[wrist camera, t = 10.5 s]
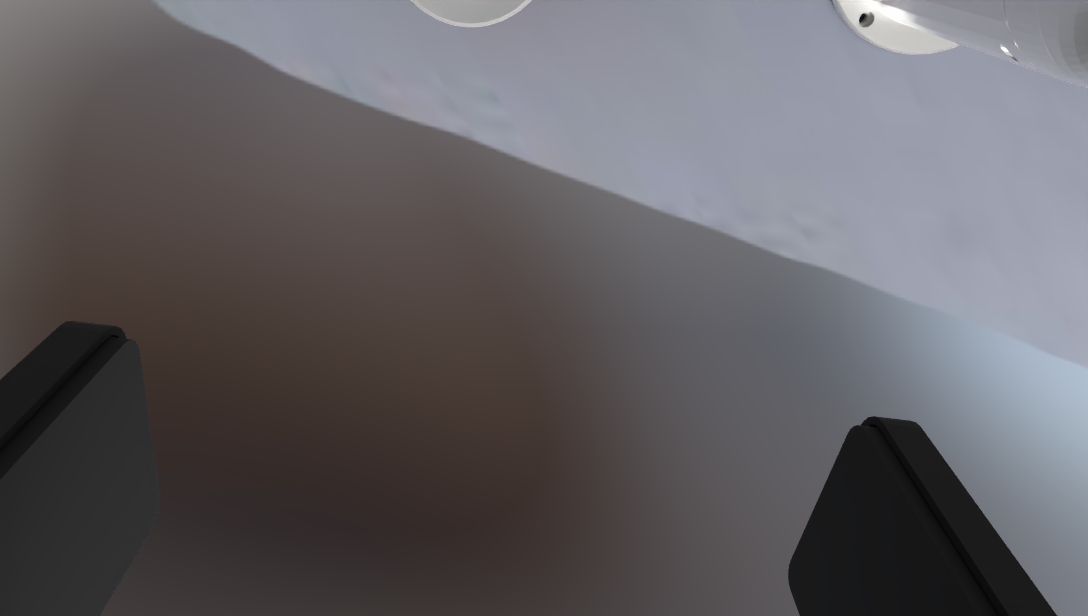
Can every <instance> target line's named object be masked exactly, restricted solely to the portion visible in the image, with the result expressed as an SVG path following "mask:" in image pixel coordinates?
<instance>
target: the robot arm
mask: <svg viewBox="0 0 1088 616" xmlns="http://www.w3.org/2000/svg"><path fill="white" fill-rule="evenodd" d="M832 2H833V4H834V7H835V9H836V11H837V12H838V13H839V15H840V16H841V18H842V19H843V21H844V22H845V23H846V25H847V26H848V27H849V28H851V29H852V30H853V31H854V32H855V33H856V34H857V35H858V36H860V37H861V38H863V39H864V40H866V41H868V42H870V43H872V44H873V45H875V46H878V47H880V48H883V49H886V50H889V51H891V52H897V53H903V54H909V55H916V54H932V53H937V52H941V51H945V50H949V49H953V48H955V47H958V46H960V45H963V46H966V47H969V48H972V49H975V50H977V51H980V52H983V53H986V54H989V55H991V56H994V57H997V58H1000V59H1003V60H1006V61H1008V62H1011V63H1014V64H1017V65H1020V66H1022V67H1025V68H1028V69H1031V70H1034V71H1037V72H1039V73H1042V74H1045V75H1048V76H1051V77H1054V78H1057V79H1060V80H1063V81H1066V82H1068V83H1071V84H1074V85H1078V86H1081V87H1085V88H1088V0H832ZM863 13H864V15H865V16H864V19H863V20H862V21H861V22H859V18H860V16H861V14H863ZM159 508H160V492H159V485H158V478H157V471H156V464H155V457H154V449H153V442H152V436H151V428H150V422H149V414H148V407H147V400H146V394H145V386H144V379H143V372H142V365H141V357H140V351H139V347H138V344H137V343H136V341H134V340H130V339H126V336H125V333H124V332H123V330H122V329H121V328H119V327H117V326H110V325H102V324H94V323H85V322H77V321H69V322H65V323H63V324H62V325H60V326H59V327H58V328H57V329H56V330H55V331H53V332H52V333H51V334H50V335H49V336H48V337H47V338H46V339H45V340H44V341H43V342H41V343H40V344H39V345H38V346H37V347H36V348H35V349H34V350H33V351H32V352H30V353H29V354H28V355H27V356H26V357H25V358H24V359H23V360H22V361H21V362H19V363H18V364H17V365H16V366H15V367H14V368H13V369H12V370H11V371H10V372H8V373H7V374H6V375H5V376H4V377H3V378H2V379H1V380H0V616H100V614H101V613H102V611H103V609H104V608H105V606H106V604H107V603H108V601H109V599H110V598H111V596H112V594H113V593H114V591H115V590H116V587H117V586H118V585H119V583H120V581H121V580H122V578H123V576H124V575H125V573H126V571H127V570H128V568H129V566H130V565H131V563H132V561H133V560H134V558H135V556H136V555H137V553H138V551H139V550H140V548H141V546H142V545H143V543H144V541H145V540H146V538H147V536H148V535H149V533H150V532H151V530H152V528H153V526H154V524H155V522H156V519H157V516H158V512H159ZM788 579H789V586H790V589H791V592H792V595H793V598H794V601H795V604H796V606H797V609H798V612H799V614H800V616H1057V615H1056V614H1055V612H1054V611H1053V610H1052V608H1051V607H1050V605H1049V604H1048V603H1047V601H1046V600H1045V599H1044V597H1043V596H1042V594H1041V593H1040V591H1039V590H1038V589H1037V587H1036V586H1035V585H1034V583H1033V582H1032V580H1031V579H1030V578H1029V576H1028V575H1027V573H1026V572H1025V571H1024V569H1023V568H1022V567H1021V565H1020V564H1019V562H1018V561H1017V560H1016V558H1015V557H1014V556H1013V554H1012V553H1011V551H1010V550H1009V549H1008V547H1007V546H1006V544H1005V543H1004V542H1003V540H1002V539H1001V537H1000V536H999V535H998V533H997V532H996V531H995V529H994V528H993V526H992V525H991V524H990V522H989V521H988V519H987V518H986V517H985V516H984V514H983V512H982V511H981V510H980V508H979V507H978V506H977V504H976V503H975V502H974V500H973V499H972V497H971V496H970V495H969V493H968V492H967V490H966V489H965V488H964V486H963V485H962V483H961V482H960V481H959V479H958V478H957V476H956V475H955V474H954V472H953V471H952V470H951V468H950V467H949V466H948V464H947V463H946V461H945V460H944V458H943V457H942V456H941V454H940V453H939V451H938V450H937V449H936V447H935V446H934V445H933V443H932V442H931V440H930V439H929V438H928V436H927V435H926V433H925V432H924V431H923V429H922V428H921V427H920V426H919V425H918V424H917V423H916V422H913V421H908V420H899V419H891V418H882V417H875V416H873V417H868V418H867V419H866V420H865V421H864V422H863V423H862V424H861V426H860V425H857V426H854V427H853V428H851V429H850V431H849V433H848V434H847V436H846V439H845V441H844V443H843V445H842V448H841V450H840V452H839V455H838V456H837V459H836V461H835V463H834V465H833V468H832V470H831V472H830V474H829V476H828V479H827V481H826V483H825V485H824V488H823V490H822V492H821V494H820V497H819V499H818V501H817V503H816V505H815V508H814V510H813V512H812V514H811V517H810V519H809V521H808V523H807V526H806V528H805V530H804V532H803V534H802V537H801V539H800V541H799V543H798V545H797V548H796V550H795V552H794V554H793V556H792V559H791V561H790V564H789V573H788Z"/></svg>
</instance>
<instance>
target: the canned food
mask: <svg viewBox="0 0 1088 616" xmlns="http://www.w3.org/2000/svg"><path fill="white" fill-rule="evenodd" d="M411 1H412V2H413V3H414V4H415V5H417V6H418V7H419V8H420V9H421V10H422V11H423V12H425V13H427V14H428V15H430V16H432V17H434V18H435V19H437V20H439V21H442V22H445V23H448V24H451V25H454V26H462V27H470V28H471V27H481V26H488V25H491V24H495V23H498V22H501V21H504V20H505V19H507V18H509V17H511V16H512V15H514V14H516V13H518V12H519V11H520V10H521V9H523V8H524V7H525V6H526V5H527V4H528V3H529V2H531V1H532V0H411Z"/></svg>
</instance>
